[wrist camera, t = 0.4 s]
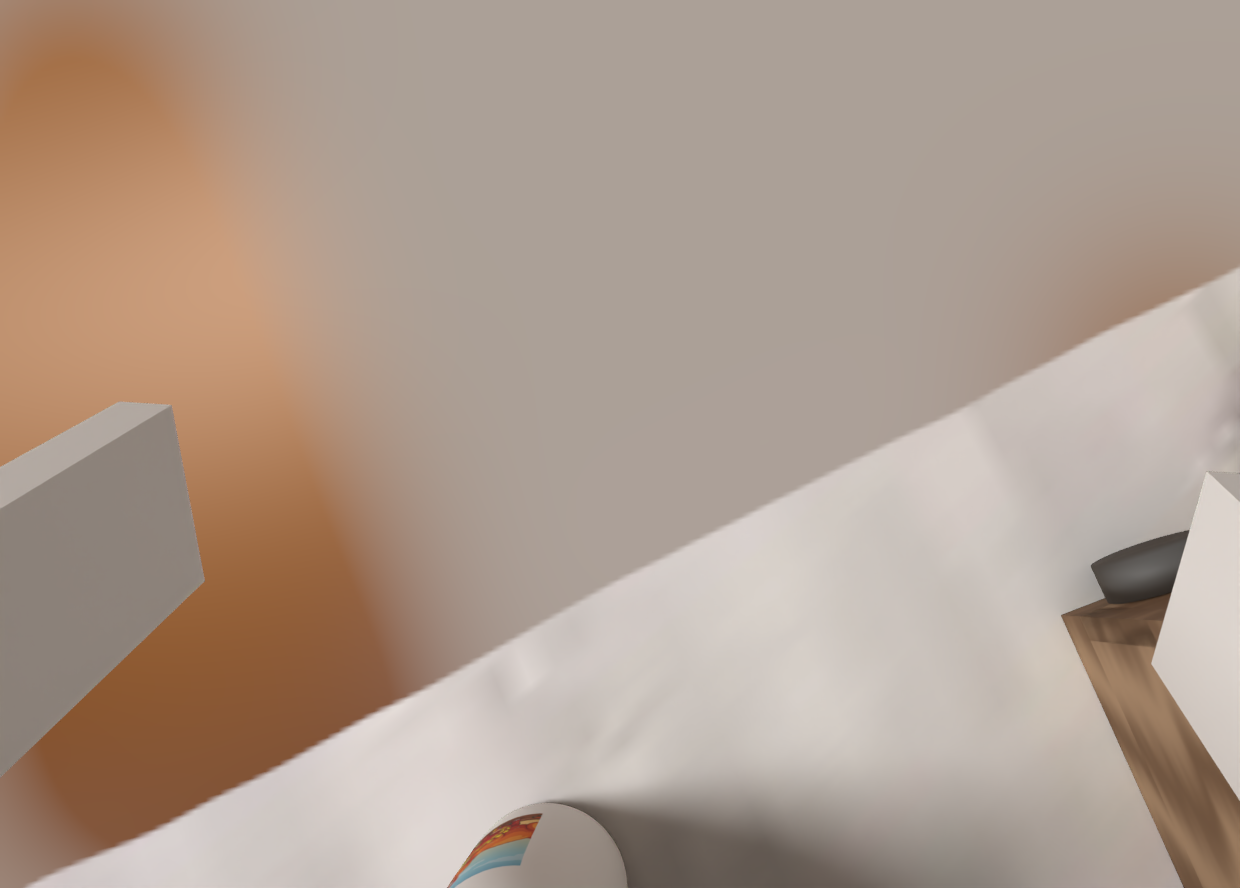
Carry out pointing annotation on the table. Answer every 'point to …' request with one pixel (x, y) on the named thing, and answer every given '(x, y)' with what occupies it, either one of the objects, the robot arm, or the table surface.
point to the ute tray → (1157, 712)
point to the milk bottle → (544, 852)
